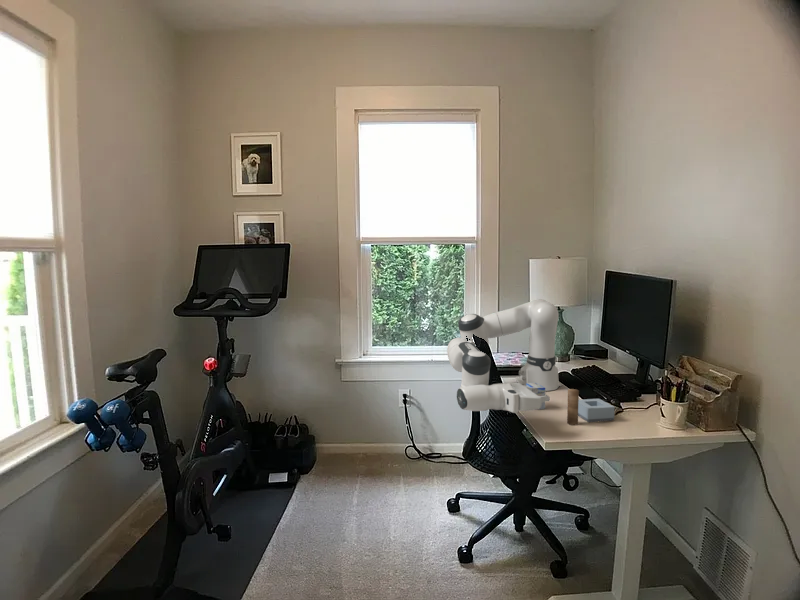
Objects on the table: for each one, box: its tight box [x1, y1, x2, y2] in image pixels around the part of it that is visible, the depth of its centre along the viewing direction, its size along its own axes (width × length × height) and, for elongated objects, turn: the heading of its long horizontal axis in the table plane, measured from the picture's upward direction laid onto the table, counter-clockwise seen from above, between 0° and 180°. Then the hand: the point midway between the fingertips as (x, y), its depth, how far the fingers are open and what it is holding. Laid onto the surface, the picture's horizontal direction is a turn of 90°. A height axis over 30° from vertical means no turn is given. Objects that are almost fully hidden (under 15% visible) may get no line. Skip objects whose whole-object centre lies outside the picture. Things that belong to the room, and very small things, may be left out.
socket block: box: [578, 398, 615, 423], centre depth 177 cm, size 10×10×5 cm
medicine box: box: [526, 383, 546, 411], centre depth 189 cm, size 8×4×9 cm, turn 12°
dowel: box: [566, 388, 580, 426], centre depth 170 cm, size 4×4×12 cm
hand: (542, 393), depth 168 cm, fingers open, 8 cm apart
